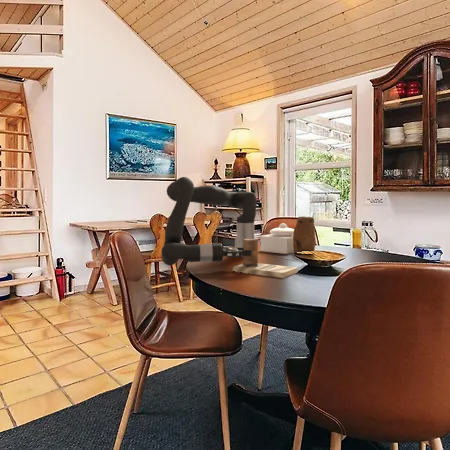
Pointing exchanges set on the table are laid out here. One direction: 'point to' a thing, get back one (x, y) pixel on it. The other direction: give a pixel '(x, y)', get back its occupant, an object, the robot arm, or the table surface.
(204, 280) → the table surface
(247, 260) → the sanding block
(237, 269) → the board
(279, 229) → the white lidded container
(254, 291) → the table surface
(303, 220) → the brown plush animal
